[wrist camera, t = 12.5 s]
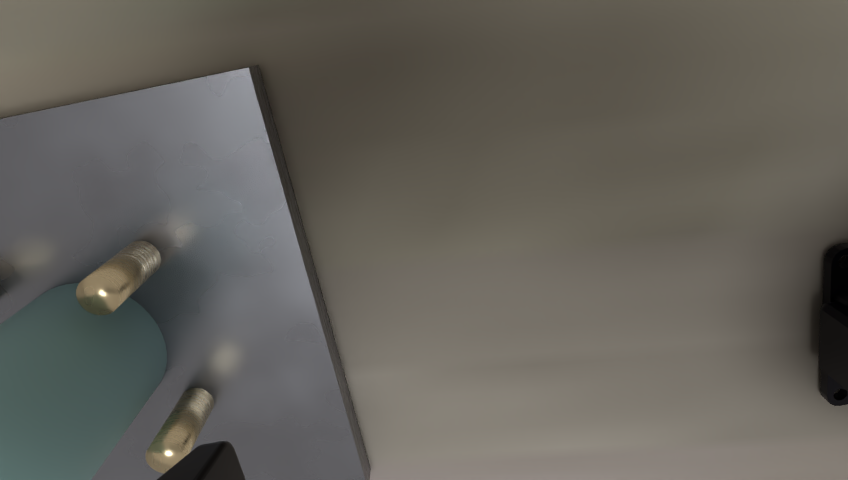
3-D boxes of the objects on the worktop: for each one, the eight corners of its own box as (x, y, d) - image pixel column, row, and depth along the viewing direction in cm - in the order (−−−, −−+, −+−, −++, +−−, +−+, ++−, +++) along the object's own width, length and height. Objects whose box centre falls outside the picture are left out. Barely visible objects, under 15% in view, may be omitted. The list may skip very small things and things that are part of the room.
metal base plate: (258, 64, 19) (217, 75, 15) (370, 469, 24) (362, 555, 20) (-212, 162, 20) (-367, 196, 16) (-4, 532, 25) (-83, 627, 21)
